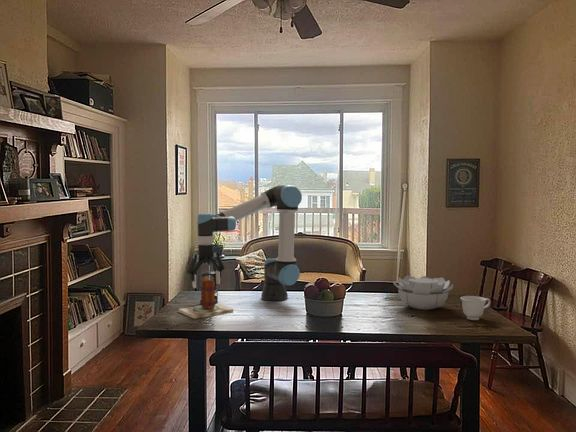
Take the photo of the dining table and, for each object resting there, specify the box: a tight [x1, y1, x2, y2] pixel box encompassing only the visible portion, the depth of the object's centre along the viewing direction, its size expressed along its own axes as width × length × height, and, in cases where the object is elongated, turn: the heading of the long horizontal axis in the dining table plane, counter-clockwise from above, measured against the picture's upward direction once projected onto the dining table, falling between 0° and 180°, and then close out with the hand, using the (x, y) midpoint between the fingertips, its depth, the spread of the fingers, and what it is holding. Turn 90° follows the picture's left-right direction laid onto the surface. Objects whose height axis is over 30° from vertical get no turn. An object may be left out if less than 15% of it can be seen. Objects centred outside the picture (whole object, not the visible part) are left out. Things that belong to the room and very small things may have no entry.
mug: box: [199, 276, 218, 309], centre depth 255 cm, size 15×8×15 cm, turn 17°
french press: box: [200, 262, 219, 304], centre depth 275 cm, size 12×9×23 cm
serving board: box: [178, 303, 234, 320], centre depth 255 cm, size 22×17×2 cm
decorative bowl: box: [392, 275, 454, 311], centre depth 266 cm, size 30×30×15 cm
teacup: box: [460, 295, 492, 321], centre depth 244 cm, size 12×15×10 cm
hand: (206, 285), depth 254 cm, fingers open, 13 cm apart
